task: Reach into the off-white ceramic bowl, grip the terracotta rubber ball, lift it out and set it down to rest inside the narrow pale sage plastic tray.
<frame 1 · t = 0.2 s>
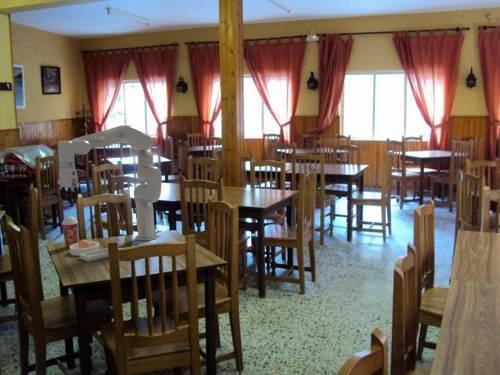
hand: (69, 198, 271), 30 cm above the table, tool pointing down, fingers open, 9 cm apart
ball: (84, 245, 280), point 3 cm above the table, touching bowl
tray: (98, 256, 271), on the table
smoothie: (71, 247, 292), on the table
bowl: (84, 251, 281), on the table
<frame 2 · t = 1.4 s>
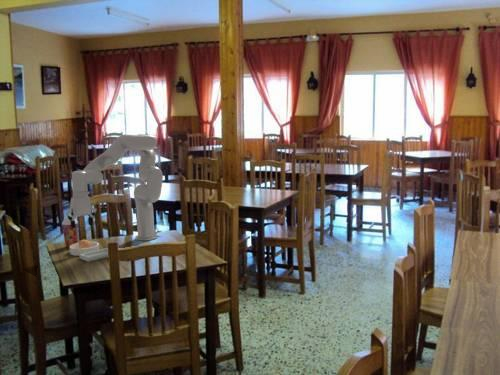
hand: (82, 226, 278), 14 cm above the table, tool pointing down, fingers open, 9 cm apart
nothing on the table moved.
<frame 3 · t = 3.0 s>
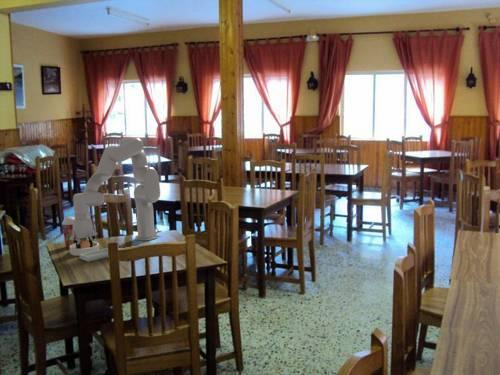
hand: (84, 249, 281), 1 cm above the table, tool pointing down, fingers closed on ball, 5 cm apart
ball: (84, 245, 280), point 3 cm above the table, touching bowl, gripper
everything else where it was.
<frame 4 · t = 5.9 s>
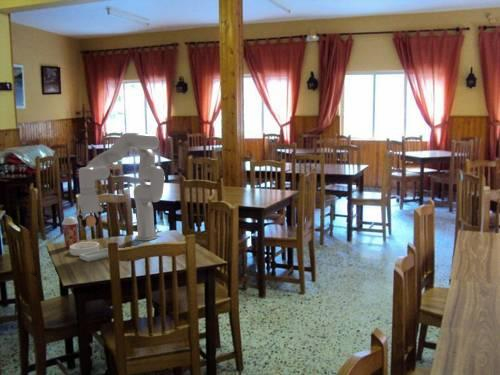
hand: (90, 225, 272), 16 cm above the table, tool pointing down, fingers closed on ball, 5 cm apart
ball: (89, 221, 272), point 18 cm above the table, touching gripper
everything else where it was.
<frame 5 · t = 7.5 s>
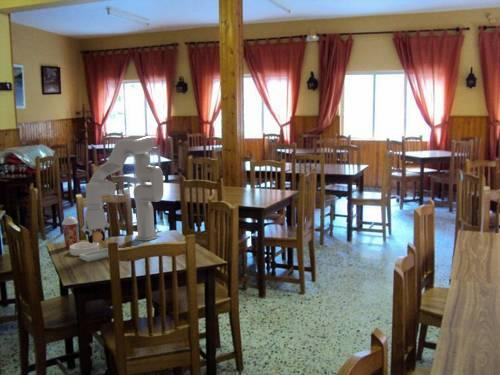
hand: (96, 241, 269), 8 cm above the table, tool pointing down, fingers closed on ball, 5 cm apart
ball: (96, 236, 269), point 11 cm above the table, touching gripper
everything else where it was.
when the fingers open (3 cm above the table, at t = 8.7 s): ball drops 1 cm, resting on tray.
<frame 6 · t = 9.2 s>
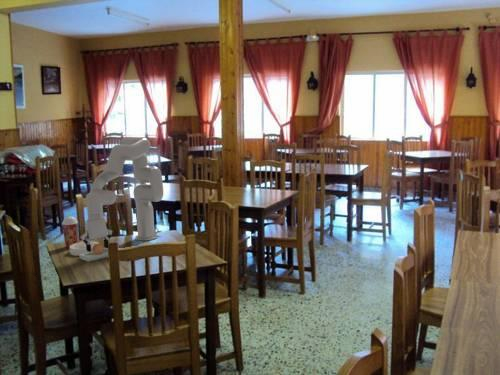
hand: (97, 249, 270), 4 cm above the table, tool pointing down, fingers open, 9 cm apart
ball: (98, 249, 270), point 4 cm above the table, touching tray
everything else where it was.
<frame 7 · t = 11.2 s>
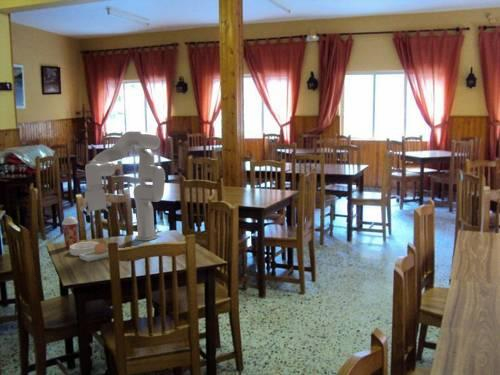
hand: (97, 220, 269), 19 cm above the table, tool pointing down, fingers open, 9 cm apart
ball: (100, 249, 271), point 4 cm above the table, tilted 24°, touching tray
everything else where it was.
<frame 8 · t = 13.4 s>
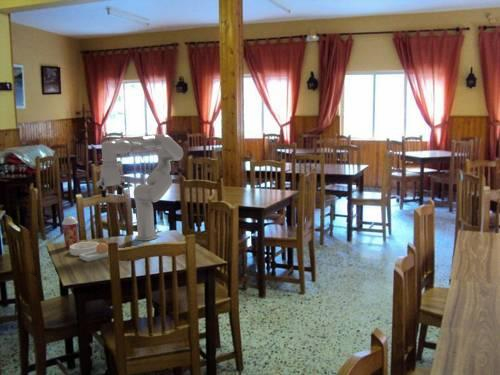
hand: (112, 196, 285), 28 cm above the table, tool pointing down, fingers open, 9 cm apart
ball: (102, 248, 272), point 4 cm above the table, tilted 46°, touching tray
everything else where it was.
at the end: ball inside the target area on the tray (2.5 cm from its centre), point 3.8 cm above the tray's base; ball touching tray; the gripper is holding nothing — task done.
